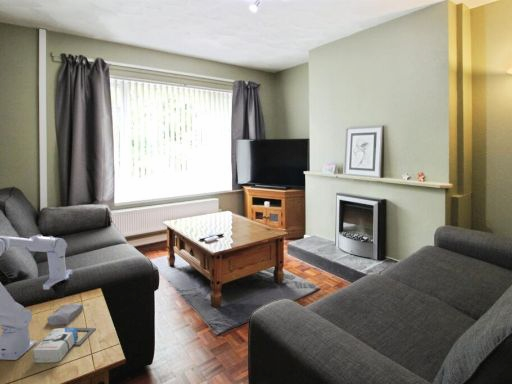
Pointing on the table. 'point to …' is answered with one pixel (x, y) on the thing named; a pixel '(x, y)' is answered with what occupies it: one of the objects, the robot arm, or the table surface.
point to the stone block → (65, 314)
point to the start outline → (85, 335)
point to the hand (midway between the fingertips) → (60, 297)
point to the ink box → (55, 345)
